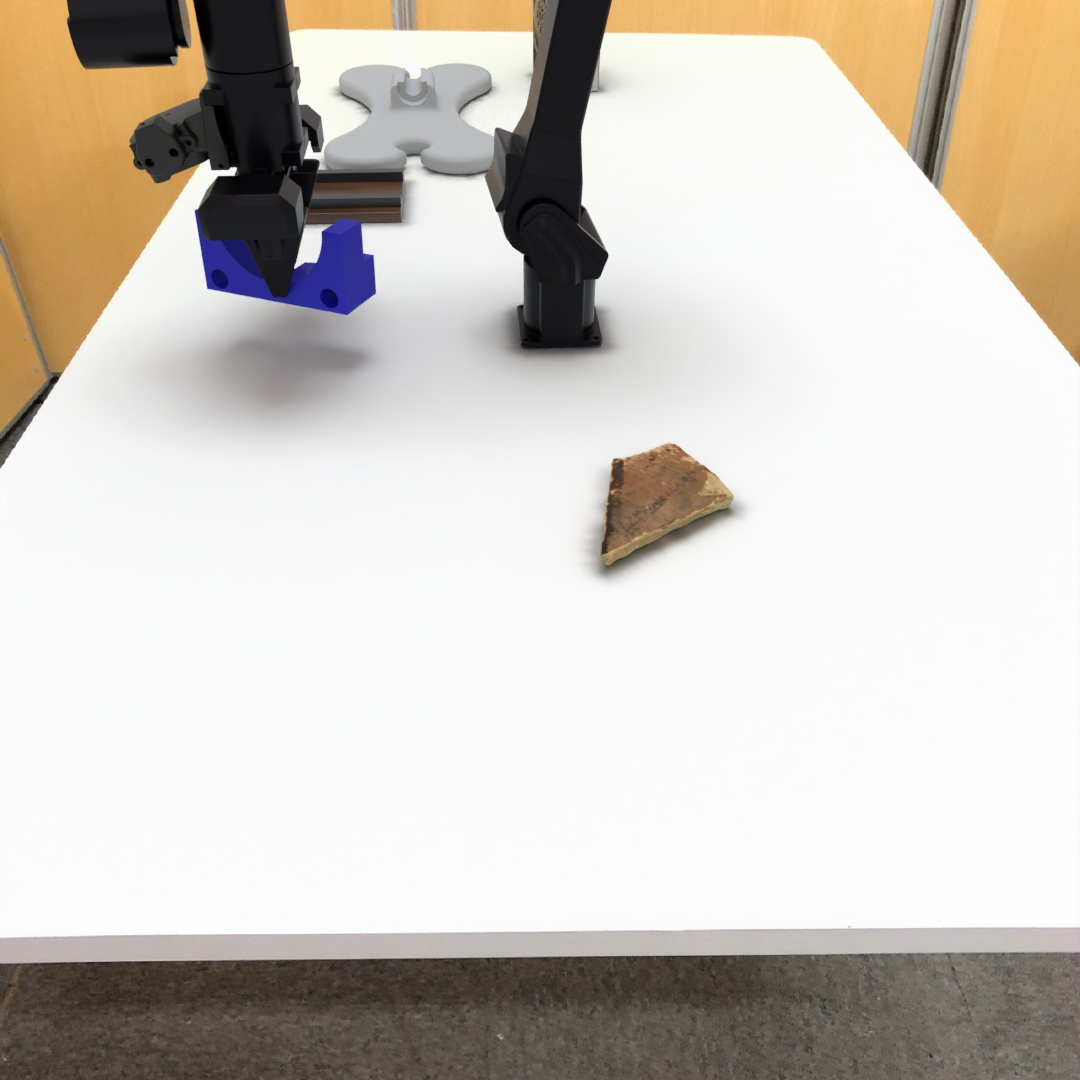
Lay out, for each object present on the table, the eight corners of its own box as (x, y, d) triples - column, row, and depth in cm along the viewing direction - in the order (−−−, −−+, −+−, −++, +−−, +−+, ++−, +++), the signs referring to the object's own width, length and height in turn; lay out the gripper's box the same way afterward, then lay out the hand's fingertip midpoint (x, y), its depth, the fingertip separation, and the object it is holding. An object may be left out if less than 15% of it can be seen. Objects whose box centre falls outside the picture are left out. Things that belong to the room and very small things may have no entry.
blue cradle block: (376, 293, 81) (371, 215, 77) (347, 315, 77) (340, 234, 74) (240, 268, 84) (230, 192, 81) (207, 288, 81) (194, 210, 77)
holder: (490, 77, 138) (489, 36, 135) (504, 175, 112) (503, 127, 109) (342, 80, 137) (338, 38, 134) (322, 179, 111) (316, 131, 108)
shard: (600, 573, 63) (601, 551, 62) (529, 508, 68) (529, 485, 67) (736, 511, 68) (739, 489, 67) (660, 454, 73) (663, 432, 72)
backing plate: (401, 222, 103) (400, 201, 101) (244, 225, 102) (241, 204, 100) (404, 182, 110) (403, 163, 109) (259, 185, 109) (255, 166, 108)
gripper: (155, 25, 77) (198, 231, 87) (87, 110, 62) (149, 344, 72) (310, 23, 77) (335, 228, 87) (278, 106, 63) (313, 340, 73)
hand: (284, 280), depth 80 cm, fingers closed on blue cradle block, 5 cm apart
